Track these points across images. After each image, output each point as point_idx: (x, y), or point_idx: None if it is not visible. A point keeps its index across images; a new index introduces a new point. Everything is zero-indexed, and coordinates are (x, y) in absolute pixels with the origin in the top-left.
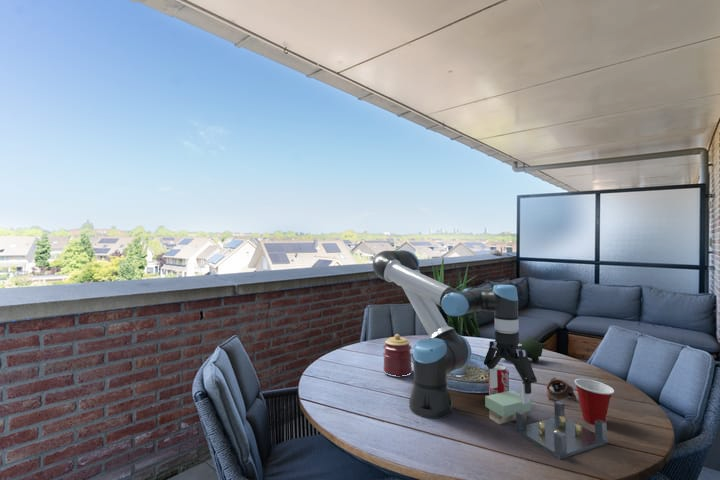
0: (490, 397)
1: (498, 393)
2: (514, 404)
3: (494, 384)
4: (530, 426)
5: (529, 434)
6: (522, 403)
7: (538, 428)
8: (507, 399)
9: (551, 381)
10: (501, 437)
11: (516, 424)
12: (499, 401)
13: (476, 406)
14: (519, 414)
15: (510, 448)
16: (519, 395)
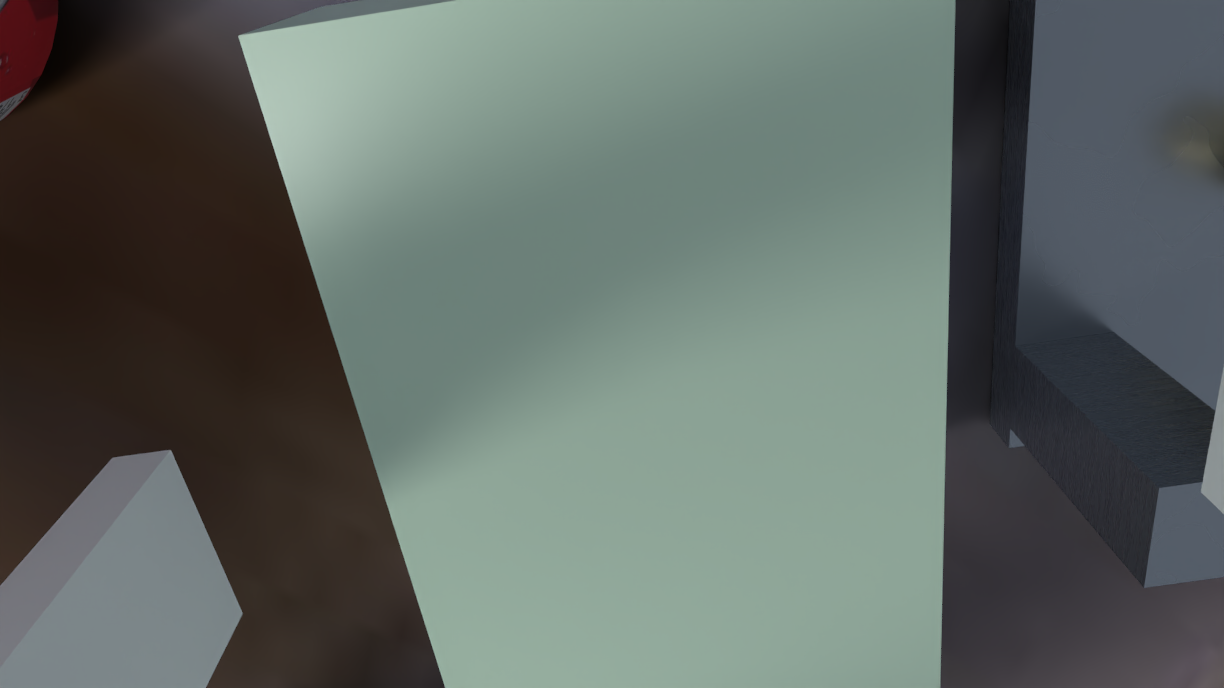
0: None
1: (394, 490)
2: (934, 460)
3: (172, 602)
4: (1074, 202)
5: (1214, 372)
6: (1219, 491)
7: (1180, 121)
8: (731, 491)
9: None
10: (1006, 624)
11: (1039, 456)
12: (753, 668)
13: (209, 501)
14: (1214, 564)
15: (1200, 653)
16: (623, 60)
